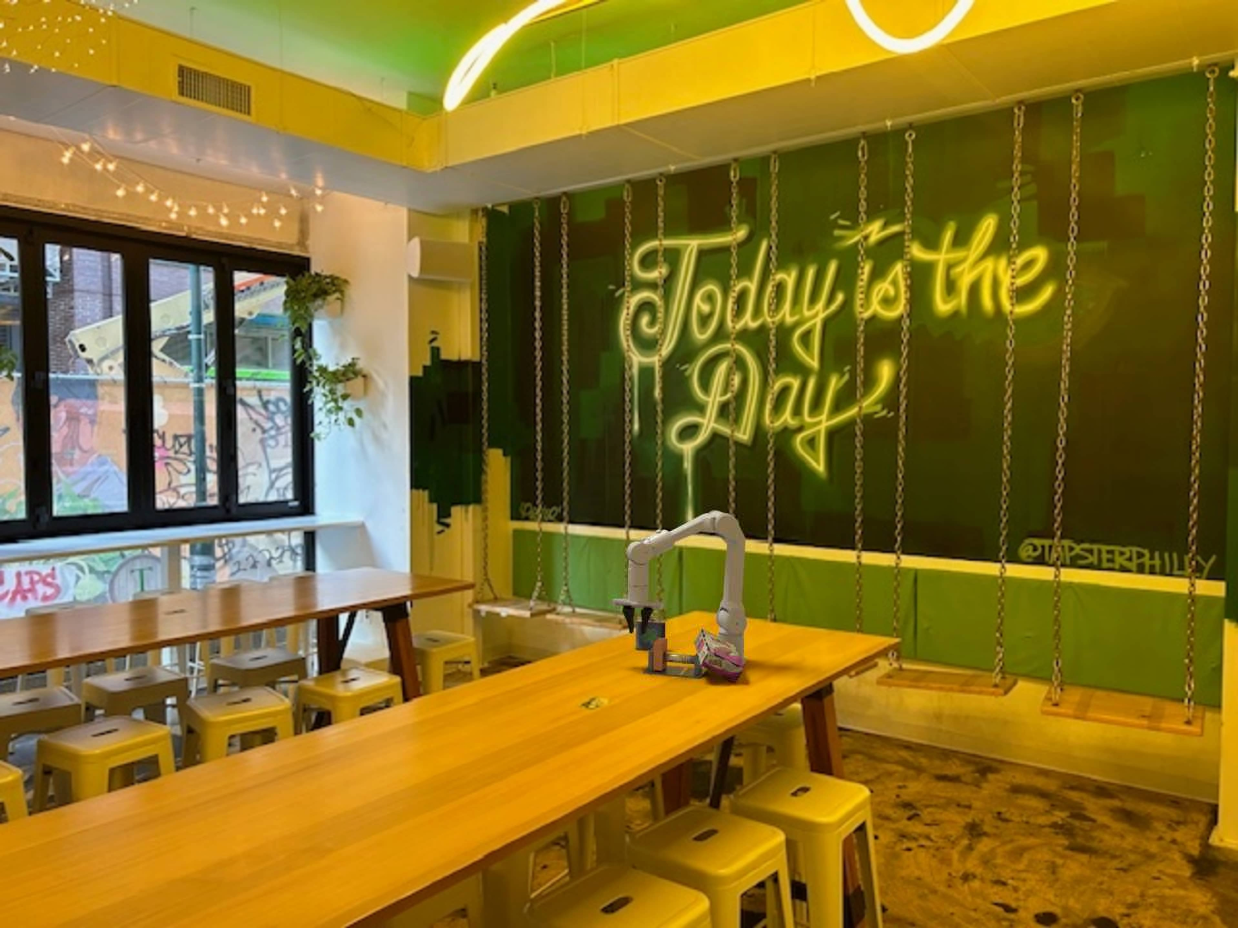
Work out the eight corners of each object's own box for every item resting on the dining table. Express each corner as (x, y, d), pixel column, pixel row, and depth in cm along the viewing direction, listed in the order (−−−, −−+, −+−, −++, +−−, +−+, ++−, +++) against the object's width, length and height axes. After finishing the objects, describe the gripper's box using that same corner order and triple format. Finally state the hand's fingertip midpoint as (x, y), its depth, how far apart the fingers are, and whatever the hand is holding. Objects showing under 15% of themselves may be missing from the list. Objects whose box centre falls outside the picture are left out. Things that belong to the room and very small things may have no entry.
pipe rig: (651, 665, 264) (651, 645, 264) (706, 670, 260) (707, 650, 259) (642, 673, 256) (643, 652, 255) (700, 678, 251) (700, 658, 251)
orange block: (658, 664, 262) (659, 637, 262) (666, 665, 261) (667, 638, 261) (653, 669, 256) (653, 642, 256) (661, 670, 256) (662, 643, 255)
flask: (634, 649, 282) (635, 614, 282) (636, 647, 285) (637, 613, 285) (664, 652, 280) (665, 616, 280) (666, 649, 283) (666, 614, 282)
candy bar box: (709, 649, 245) (701, 627, 261) (700, 665, 246) (692, 642, 262) (746, 667, 247) (735, 644, 263) (736, 683, 248) (726, 658, 264)
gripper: (609, 585, 258) (608, 634, 259) (659, 589, 254) (659, 638, 255) (616, 581, 265) (616, 628, 265) (666, 584, 261) (665, 632, 261)
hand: (637, 633), depth 260 cm, fingers open, 3 cm apart
